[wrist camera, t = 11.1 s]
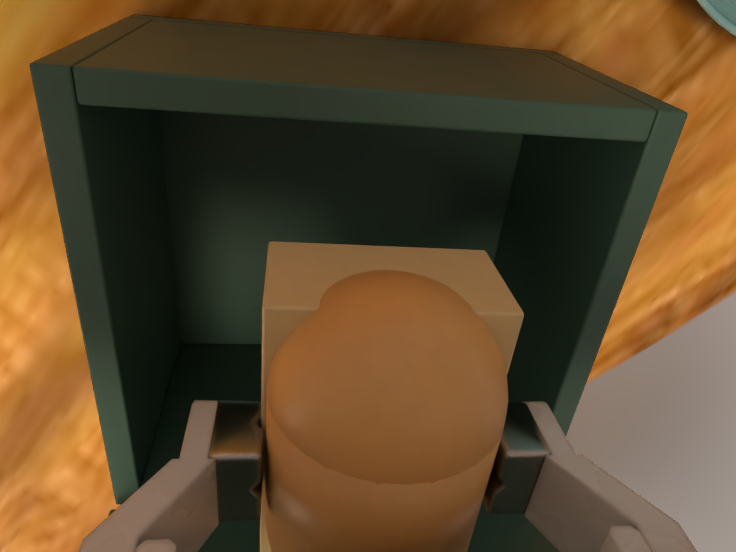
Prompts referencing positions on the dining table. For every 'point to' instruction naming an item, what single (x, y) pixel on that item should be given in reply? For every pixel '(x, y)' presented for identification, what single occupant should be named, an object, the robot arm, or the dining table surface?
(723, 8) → the saucer
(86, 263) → the bread bin
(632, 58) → the dining table surface
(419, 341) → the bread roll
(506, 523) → the lid
